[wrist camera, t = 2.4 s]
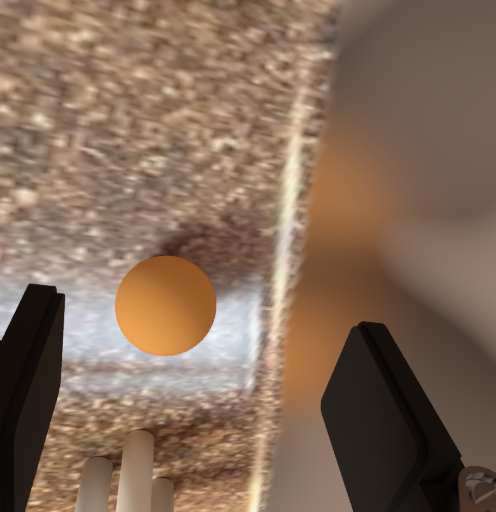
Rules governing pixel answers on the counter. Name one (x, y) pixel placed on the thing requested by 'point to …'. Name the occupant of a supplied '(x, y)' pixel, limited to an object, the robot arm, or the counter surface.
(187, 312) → the ball
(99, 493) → the pin
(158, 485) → the pin
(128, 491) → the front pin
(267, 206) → the counter surface
